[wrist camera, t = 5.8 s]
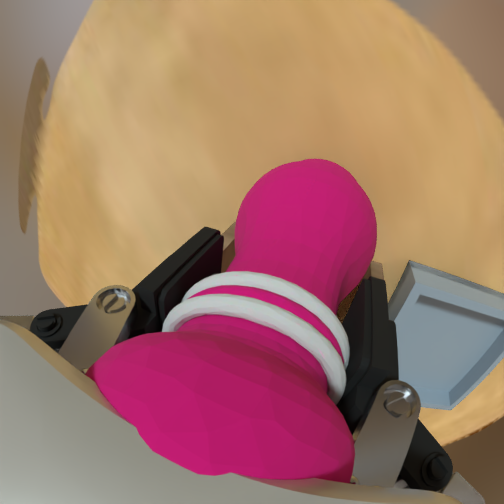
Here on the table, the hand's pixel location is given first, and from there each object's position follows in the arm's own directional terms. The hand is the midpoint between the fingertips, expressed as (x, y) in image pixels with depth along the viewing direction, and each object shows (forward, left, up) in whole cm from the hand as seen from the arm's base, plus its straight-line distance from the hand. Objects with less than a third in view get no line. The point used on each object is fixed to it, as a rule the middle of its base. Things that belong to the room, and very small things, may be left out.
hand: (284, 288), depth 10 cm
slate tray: (-10, -15, -11) cm, 21 cm away
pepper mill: (0, 0, -10) cm, 10 cm away
